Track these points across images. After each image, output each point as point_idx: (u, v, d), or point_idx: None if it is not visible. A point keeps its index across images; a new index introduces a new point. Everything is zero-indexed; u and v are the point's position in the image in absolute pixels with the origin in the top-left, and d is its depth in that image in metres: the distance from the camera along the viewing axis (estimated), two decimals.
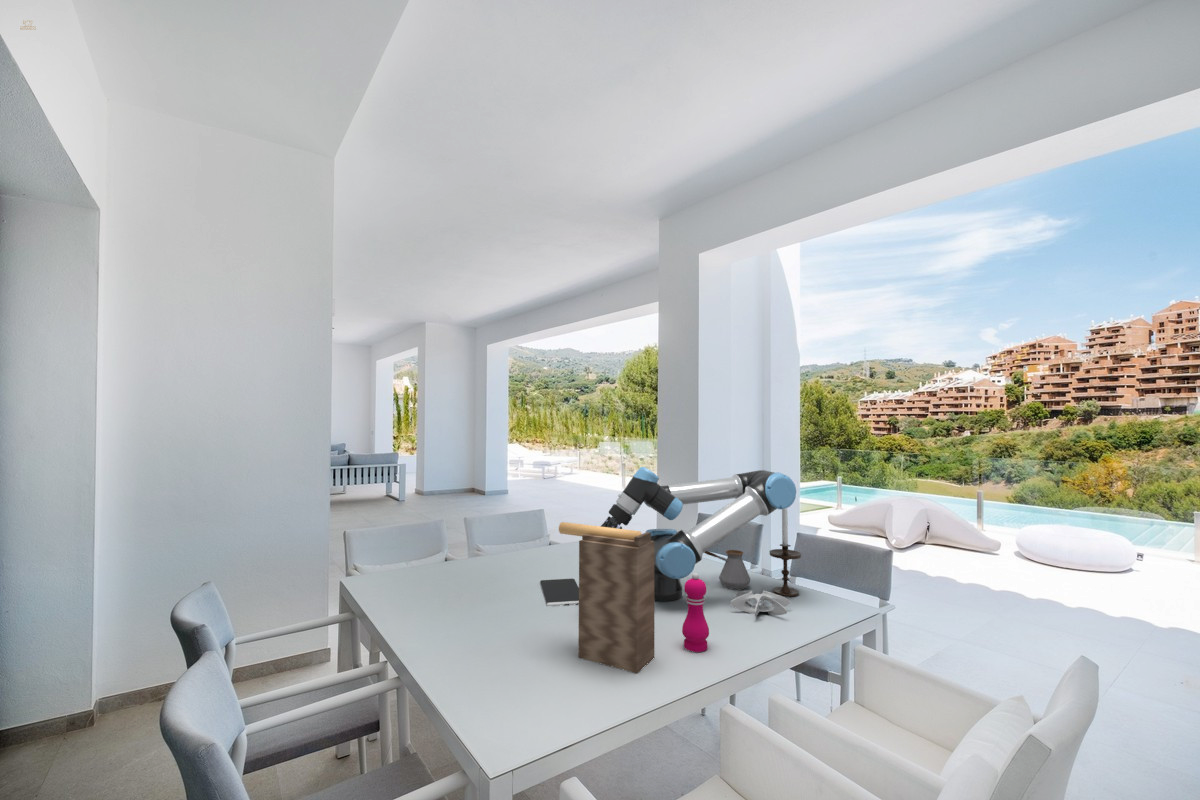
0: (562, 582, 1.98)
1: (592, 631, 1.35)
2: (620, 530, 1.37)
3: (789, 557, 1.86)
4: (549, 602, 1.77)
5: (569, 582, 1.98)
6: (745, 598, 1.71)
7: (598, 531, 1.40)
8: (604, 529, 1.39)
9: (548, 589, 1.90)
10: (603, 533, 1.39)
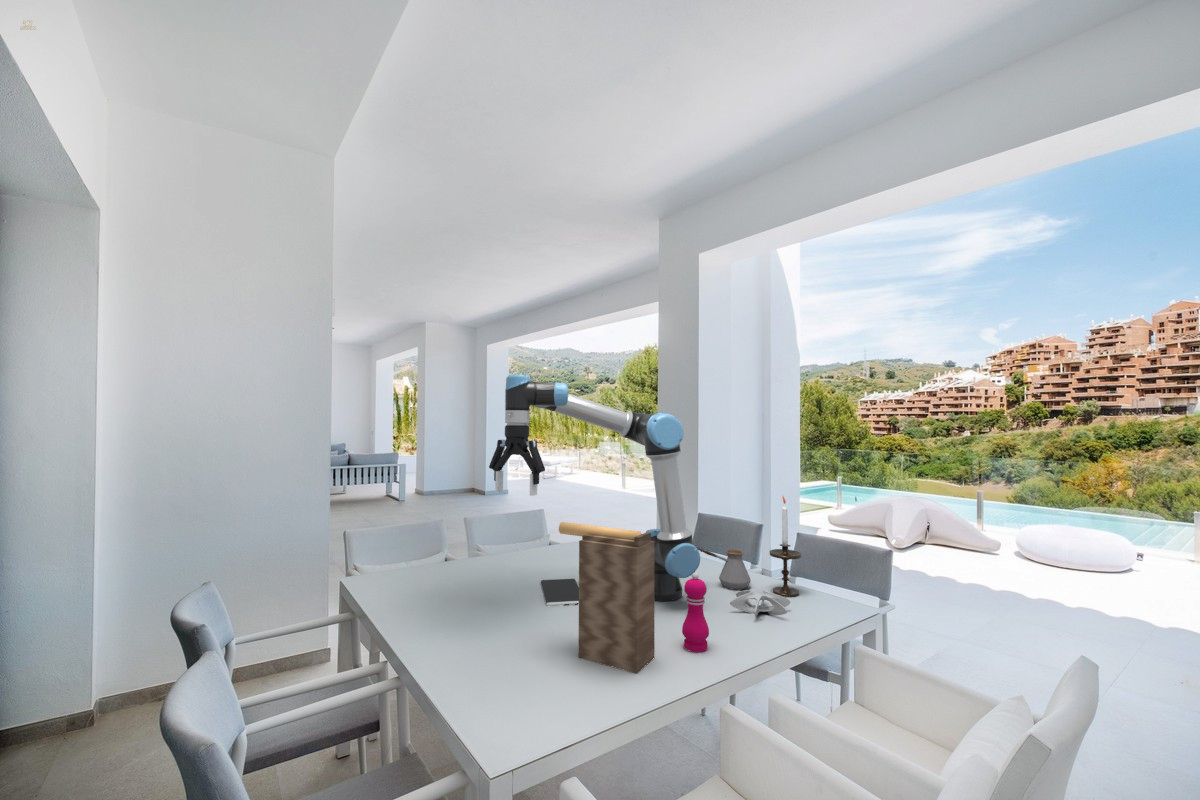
0: (562, 582, 1.98)
1: (592, 631, 1.35)
2: (620, 530, 1.37)
3: (789, 557, 1.86)
4: (549, 602, 1.77)
5: (570, 582, 1.98)
6: (745, 598, 1.71)
7: (598, 531, 1.40)
8: (604, 529, 1.39)
9: (549, 589, 1.90)
10: (603, 533, 1.39)
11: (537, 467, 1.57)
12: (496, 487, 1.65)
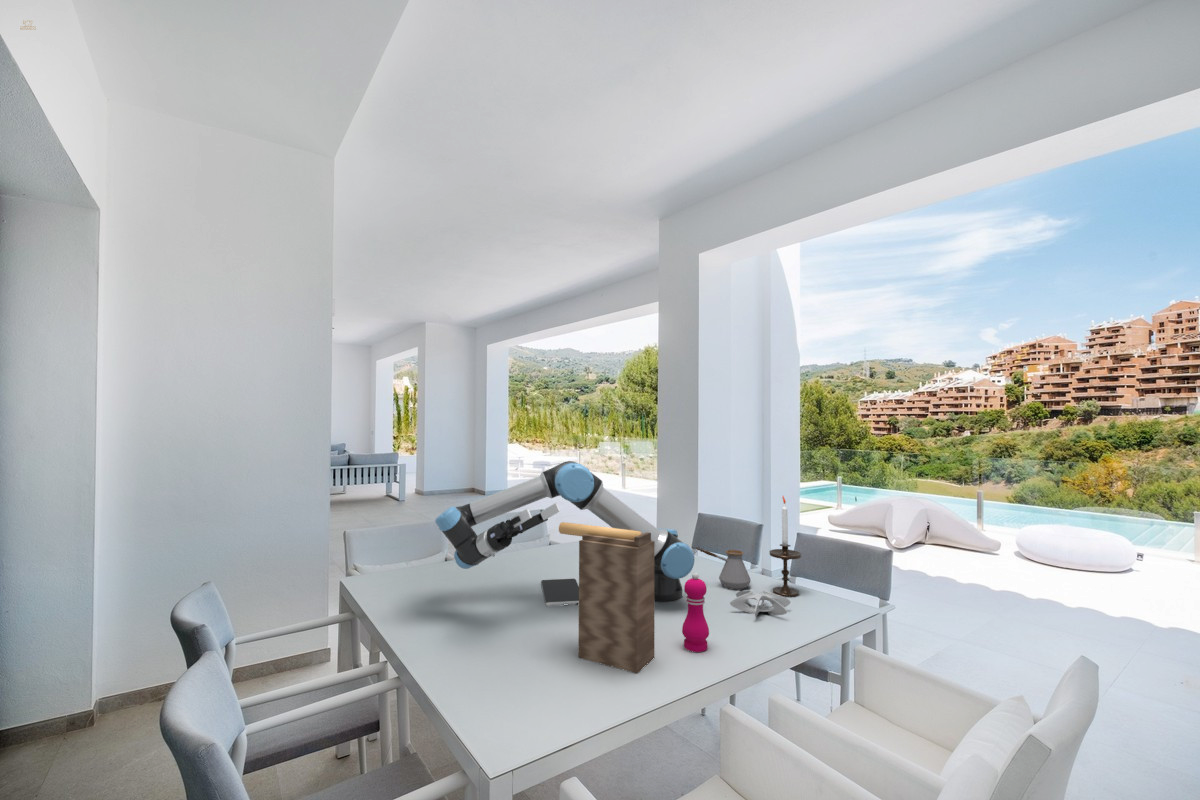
0: (563, 582, 1.98)
1: (592, 631, 1.35)
2: (620, 530, 1.37)
3: (789, 557, 1.86)
4: (548, 602, 1.77)
5: (570, 582, 1.98)
6: (745, 598, 1.71)
7: (598, 531, 1.40)
8: (604, 529, 1.39)
9: (549, 589, 1.90)
10: (603, 533, 1.39)
11: (504, 531, 1.47)
12: (555, 513, 1.58)
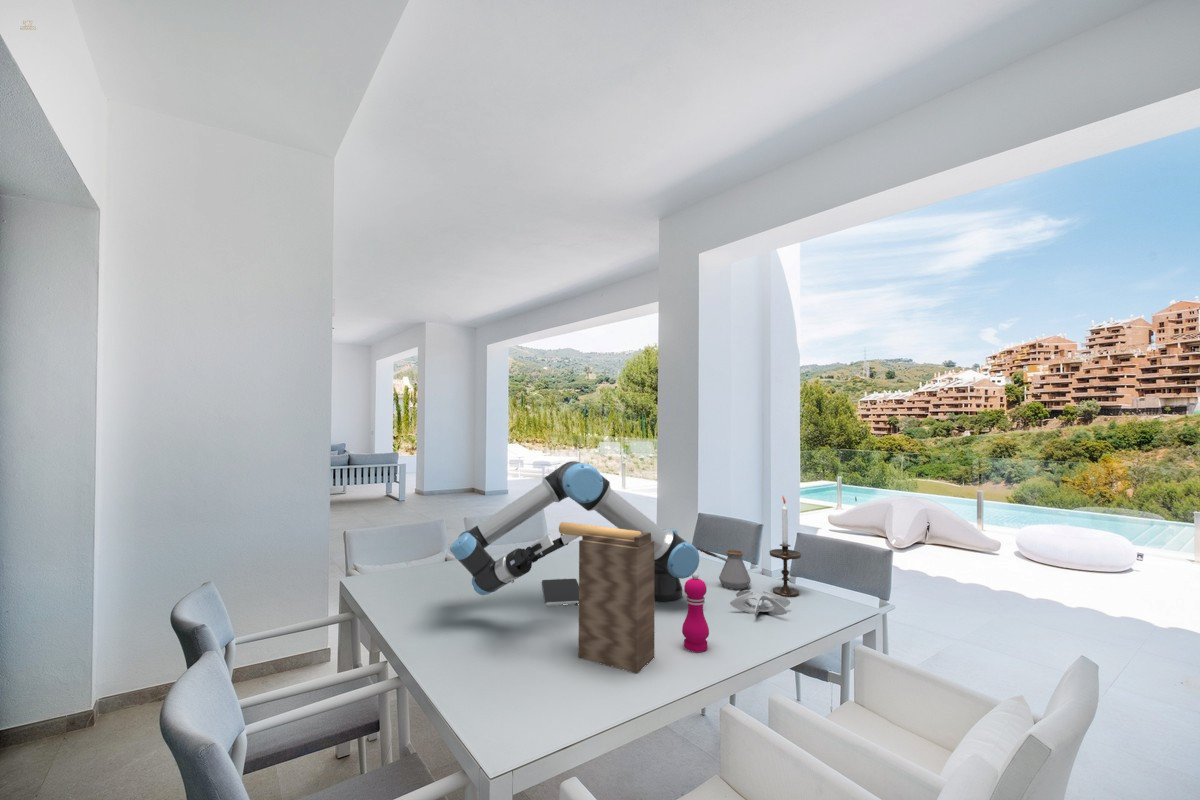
0: (563, 582, 1.99)
1: (592, 631, 1.35)
2: (620, 530, 1.37)
3: (789, 557, 1.86)
4: (548, 602, 1.77)
5: (571, 582, 1.98)
6: (745, 598, 1.71)
7: (598, 531, 1.40)
8: (604, 529, 1.39)
9: (549, 589, 1.90)
10: (603, 533, 1.39)
11: (525, 558, 1.42)
12: (577, 537, 1.52)
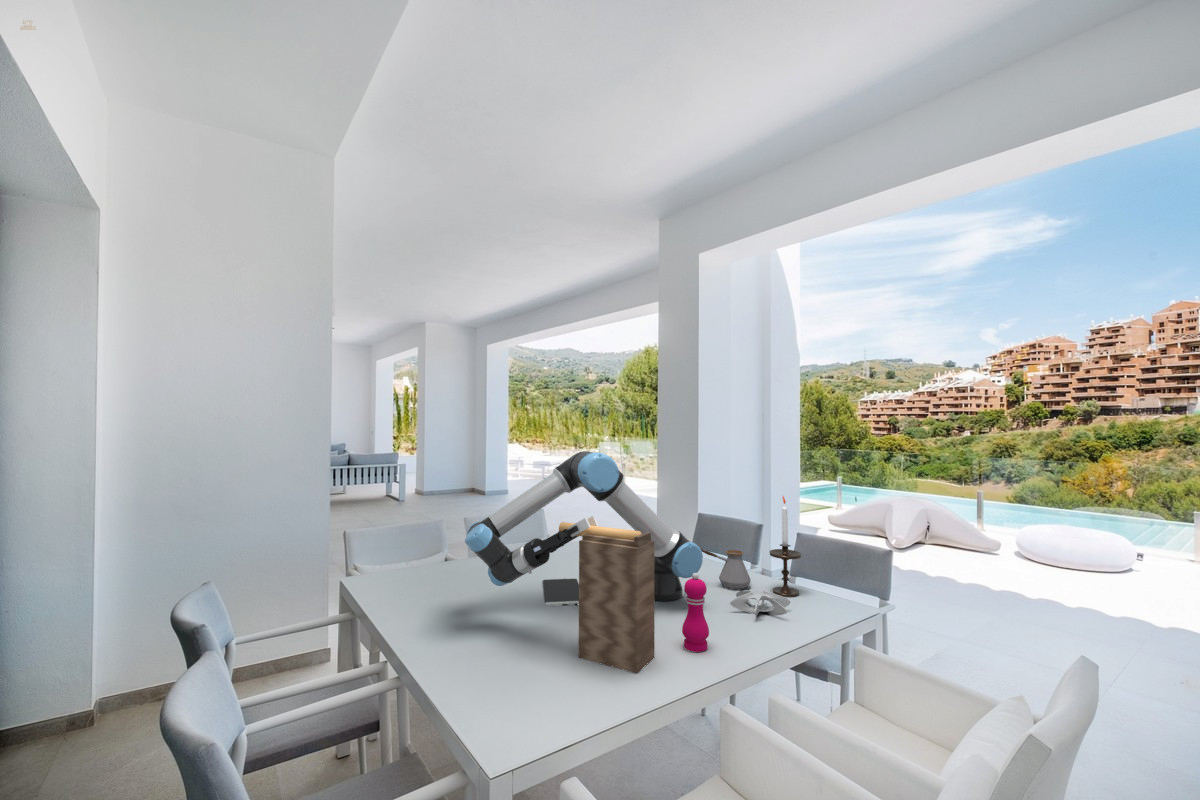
0: (564, 582, 1.99)
1: (592, 631, 1.35)
2: (620, 530, 1.37)
3: (789, 557, 1.86)
4: (547, 602, 1.77)
5: (571, 582, 1.98)
6: (745, 598, 1.71)
7: (598, 531, 1.40)
8: (604, 529, 1.39)
9: (549, 589, 1.90)
10: (603, 533, 1.39)
11: (560, 541, 1.42)
12: None
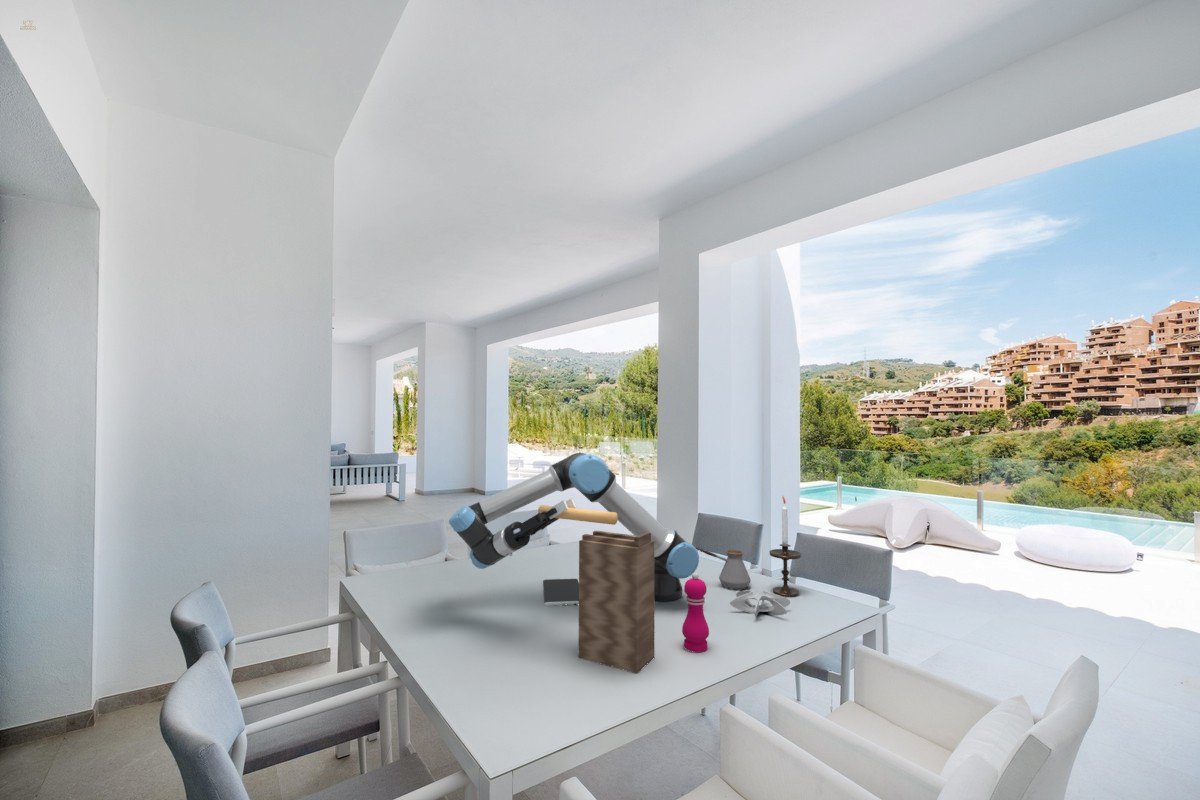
0: (564, 582, 1.99)
1: (592, 631, 1.35)
2: (597, 511, 1.41)
3: (789, 557, 1.86)
4: (547, 601, 1.77)
5: (572, 582, 1.98)
6: (745, 598, 1.71)
7: (575, 512, 1.43)
8: (581, 511, 1.43)
9: (549, 589, 1.90)
10: (580, 514, 1.43)
11: (539, 523, 1.46)
12: None
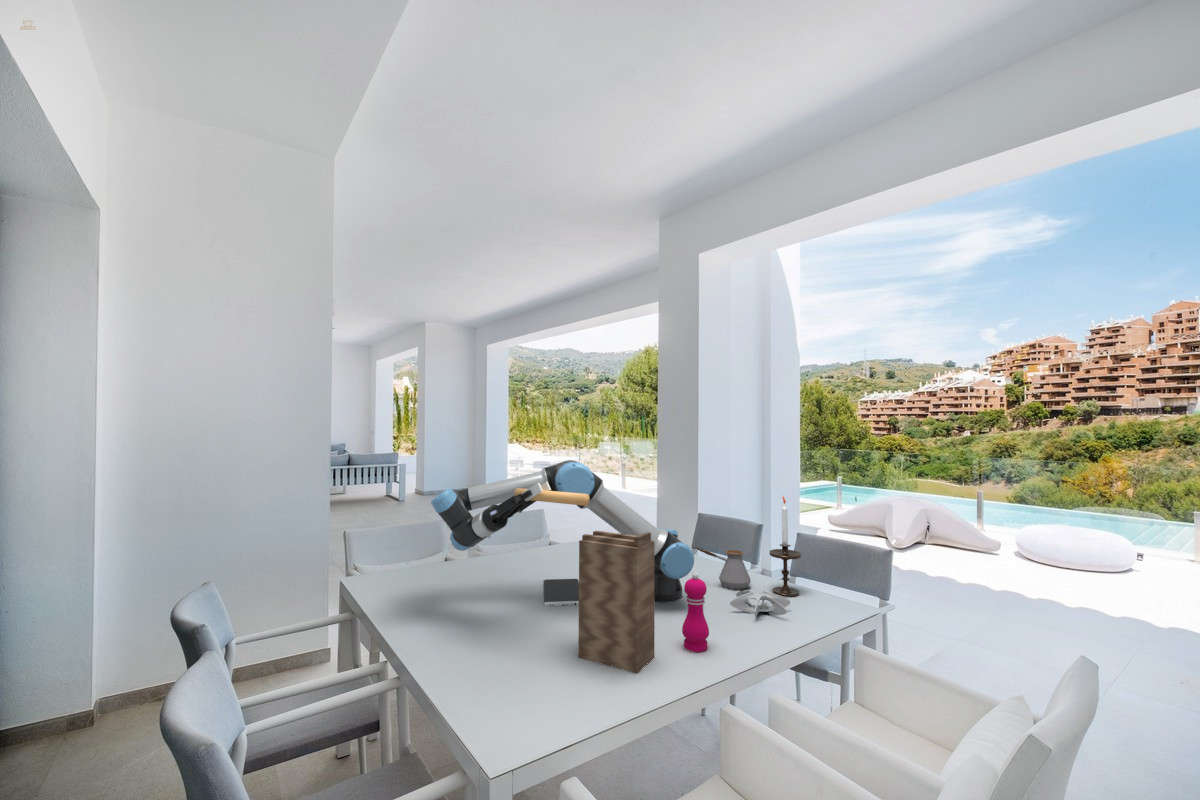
0: (564, 582, 1.99)
1: (592, 631, 1.35)
2: (569, 493, 1.46)
3: (789, 557, 1.86)
4: (546, 601, 1.77)
5: (572, 582, 1.98)
6: (745, 598, 1.71)
7: (549, 494, 1.48)
8: (555, 493, 1.48)
9: (549, 589, 1.91)
10: (554, 496, 1.47)
11: (515, 505, 1.51)
12: None
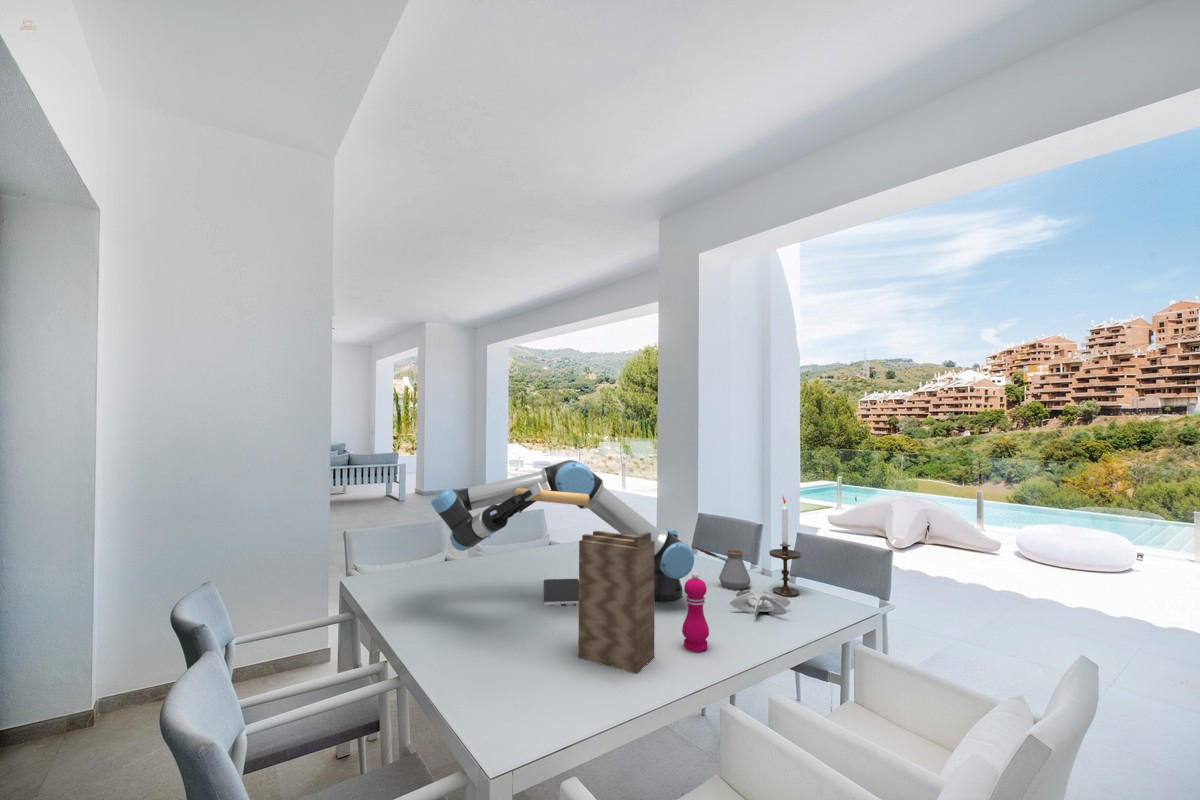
0: (565, 582, 1.99)
1: (592, 631, 1.35)
2: (569, 493, 1.46)
3: (789, 557, 1.86)
4: (546, 601, 1.77)
5: (572, 582, 1.98)
6: (745, 598, 1.71)
7: (549, 495, 1.48)
8: (555, 493, 1.48)
9: (549, 589, 1.91)
10: (554, 496, 1.47)
11: (515, 505, 1.51)
12: None
